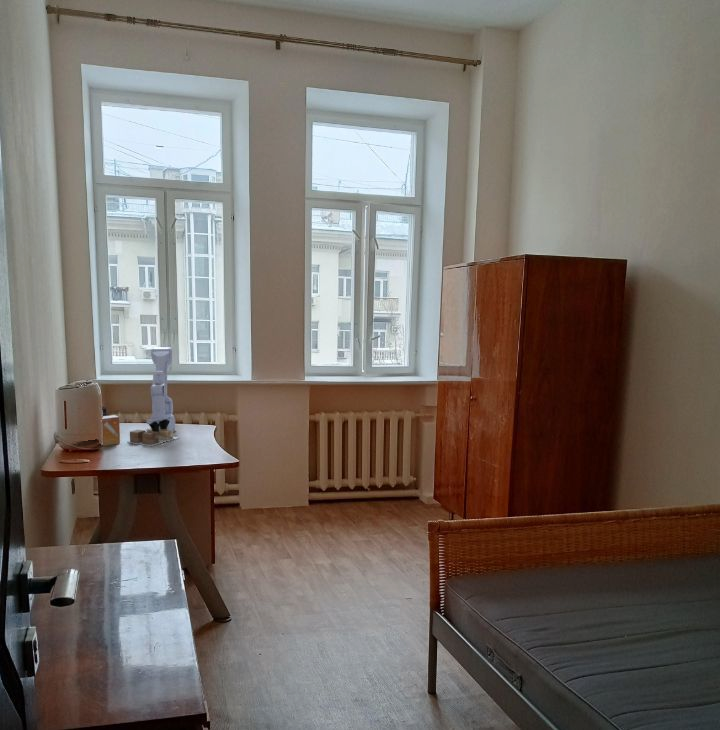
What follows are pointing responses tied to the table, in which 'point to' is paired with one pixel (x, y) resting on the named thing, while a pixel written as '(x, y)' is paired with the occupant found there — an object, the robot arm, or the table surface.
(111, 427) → the small box
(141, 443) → the mat
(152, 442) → the cube
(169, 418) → the robot arm
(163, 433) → the lintel
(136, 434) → the cube
